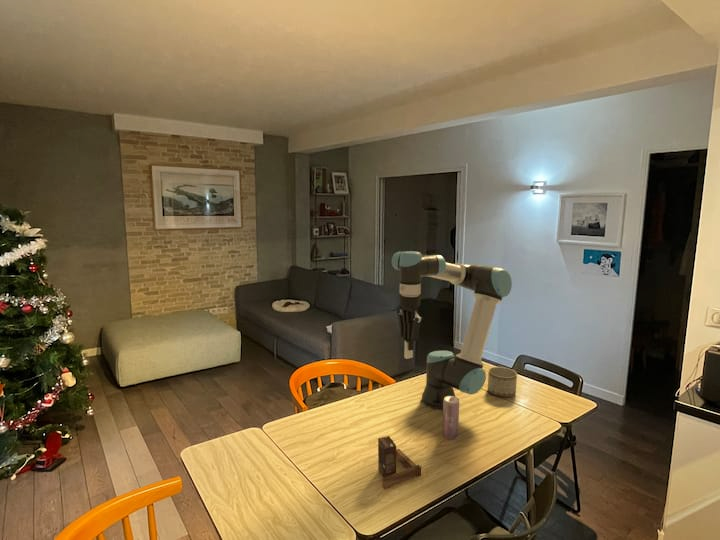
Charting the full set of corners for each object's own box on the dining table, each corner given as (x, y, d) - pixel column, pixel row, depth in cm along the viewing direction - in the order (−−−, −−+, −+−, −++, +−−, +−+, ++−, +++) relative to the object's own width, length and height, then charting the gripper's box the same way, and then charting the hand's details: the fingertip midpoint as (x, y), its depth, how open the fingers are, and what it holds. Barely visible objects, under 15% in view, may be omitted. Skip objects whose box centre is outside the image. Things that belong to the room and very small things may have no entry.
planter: (519, 399, 186) (521, 377, 185) (492, 398, 186) (493, 377, 185) (510, 387, 199) (511, 366, 197) (484, 386, 199) (485, 366, 197)
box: (377, 471, 135) (377, 437, 133) (389, 468, 137) (390, 435, 135) (384, 482, 130) (384, 447, 128) (397, 479, 131) (397, 445, 129)
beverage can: (459, 433, 158) (460, 397, 155) (456, 441, 152) (457, 404, 150) (444, 430, 160) (445, 394, 158) (440, 437, 155) (441, 401, 153)
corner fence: (366, 467, 137) (366, 459, 137) (400, 455, 144) (400, 448, 143) (384, 489, 127) (384, 480, 126) (421, 475, 133) (421, 467, 133)
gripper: (391, 292, 149) (390, 353, 153) (411, 299, 138) (410, 365, 142) (407, 290, 153) (406, 350, 156) (429, 297, 141) (427, 361, 145)
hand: (408, 357), depth 149 cm, fingers closed
